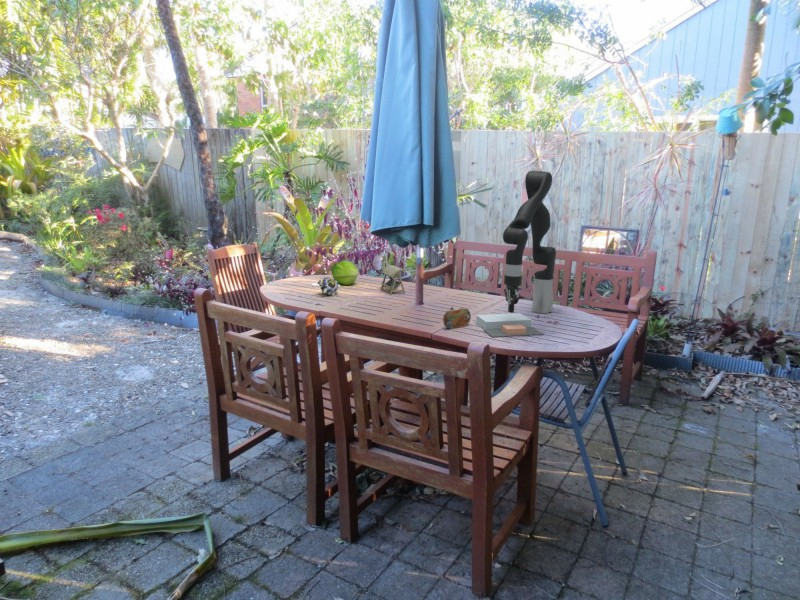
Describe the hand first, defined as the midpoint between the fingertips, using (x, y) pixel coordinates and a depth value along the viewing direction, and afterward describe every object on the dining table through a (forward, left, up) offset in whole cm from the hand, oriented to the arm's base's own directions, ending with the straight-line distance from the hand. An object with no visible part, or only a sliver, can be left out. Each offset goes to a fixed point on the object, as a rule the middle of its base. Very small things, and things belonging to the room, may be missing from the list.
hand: (510, 312), depth 240 cm
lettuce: (+61, -112, -9) cm, 128 cm away
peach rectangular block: (0, +5, -5) cm, 7 cm away
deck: (0, -7, -8) cm, 11 cm away
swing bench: (+36, -86, -9) cm, 94 cm away
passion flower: (+74, -84, -9) cm, 113 cm away
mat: (0, +4, -8) cm, 9 cm away
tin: (+22, -9, -9) cm, 25 cm away
